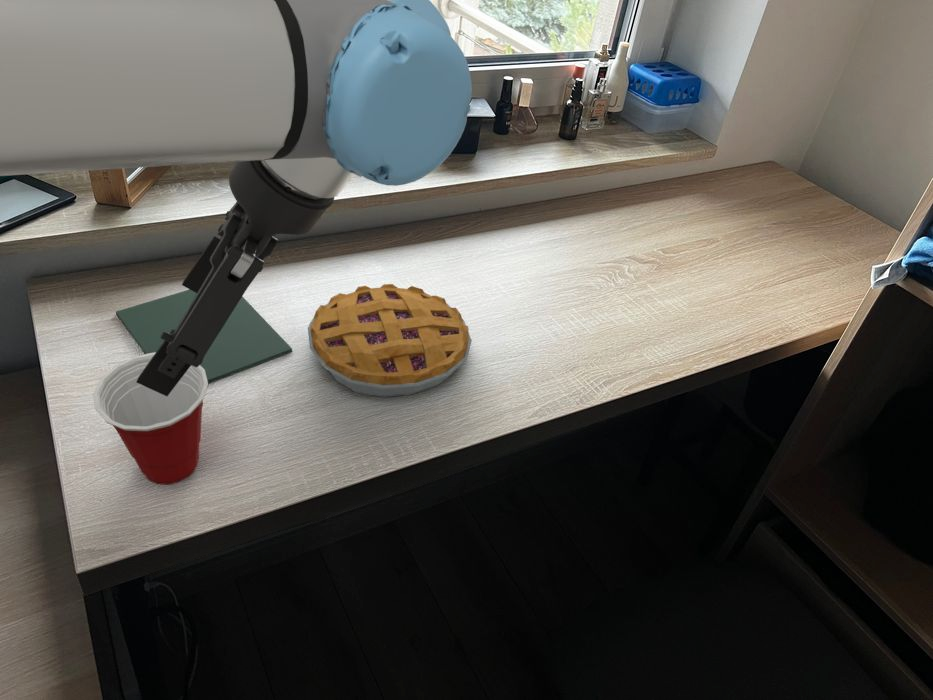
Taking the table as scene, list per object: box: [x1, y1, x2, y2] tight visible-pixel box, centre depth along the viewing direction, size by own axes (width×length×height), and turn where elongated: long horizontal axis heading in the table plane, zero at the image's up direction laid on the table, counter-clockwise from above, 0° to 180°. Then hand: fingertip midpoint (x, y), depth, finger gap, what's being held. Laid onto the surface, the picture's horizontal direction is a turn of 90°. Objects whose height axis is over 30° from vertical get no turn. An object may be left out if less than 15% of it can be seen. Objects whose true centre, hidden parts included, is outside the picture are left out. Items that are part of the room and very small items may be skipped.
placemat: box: [115, 289, 293, 385], centre depth 98 cm, size 16×20×1 cm
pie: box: [307, 283, 473, 398], centre depth 98 cm, size 22×22×5 cm
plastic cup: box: [92, 352, 209, 485], centre depth 76 cm, size 11×11×12 cm
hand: (175, 334), depth 66 cm, fingers open, 13 cm apart
